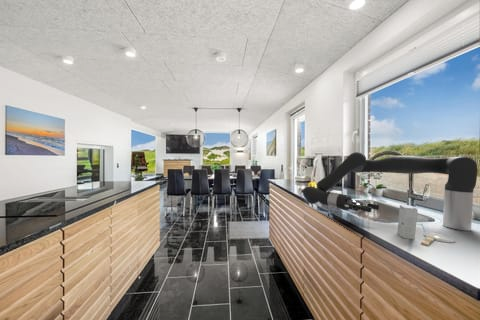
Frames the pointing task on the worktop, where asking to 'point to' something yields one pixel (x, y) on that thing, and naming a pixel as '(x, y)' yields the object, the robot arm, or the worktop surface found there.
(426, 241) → the wooden slat
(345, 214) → the worktop surface
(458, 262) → the worktop surface
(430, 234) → the white shallow dome
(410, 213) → the skincare box
